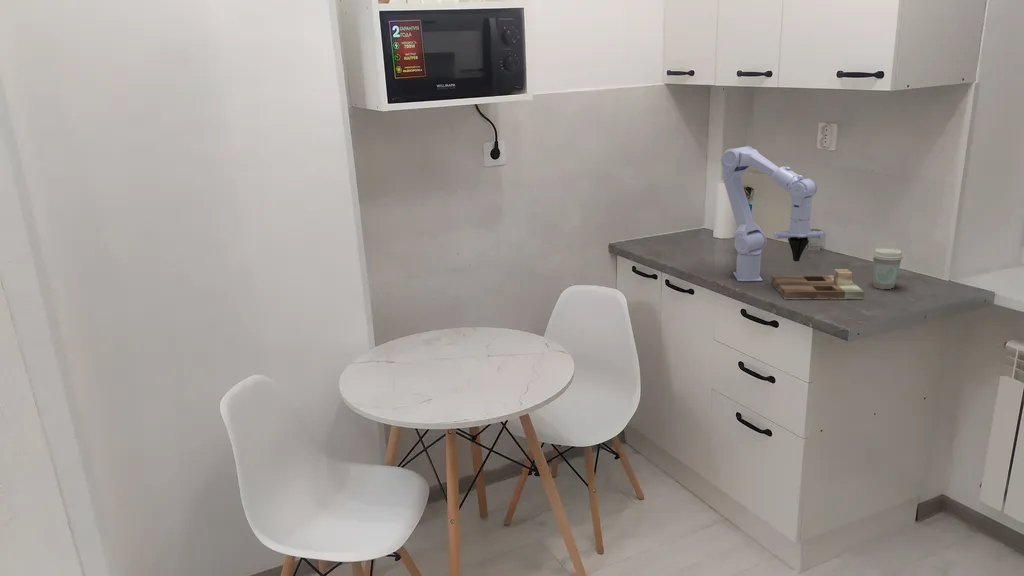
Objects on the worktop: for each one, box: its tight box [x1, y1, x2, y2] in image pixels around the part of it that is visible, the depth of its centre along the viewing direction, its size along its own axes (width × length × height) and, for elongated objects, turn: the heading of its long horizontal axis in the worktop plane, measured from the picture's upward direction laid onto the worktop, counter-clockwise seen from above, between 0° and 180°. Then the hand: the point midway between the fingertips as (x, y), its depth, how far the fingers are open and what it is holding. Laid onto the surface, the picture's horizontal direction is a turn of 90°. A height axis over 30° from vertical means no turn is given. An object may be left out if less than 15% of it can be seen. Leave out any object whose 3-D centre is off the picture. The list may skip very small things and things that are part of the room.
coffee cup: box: [872, 247, 904, 290], centre depth 225 cm, size 9×8×12 cm
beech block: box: [833, 268, 853, 285], centre depth 223 cm, size 4×4×4 cm
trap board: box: [771, 275, 865, 300], centre depth 225 cm, size 17×23×2 cm
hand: (796, 260), depth 224 cm, fingers closed
